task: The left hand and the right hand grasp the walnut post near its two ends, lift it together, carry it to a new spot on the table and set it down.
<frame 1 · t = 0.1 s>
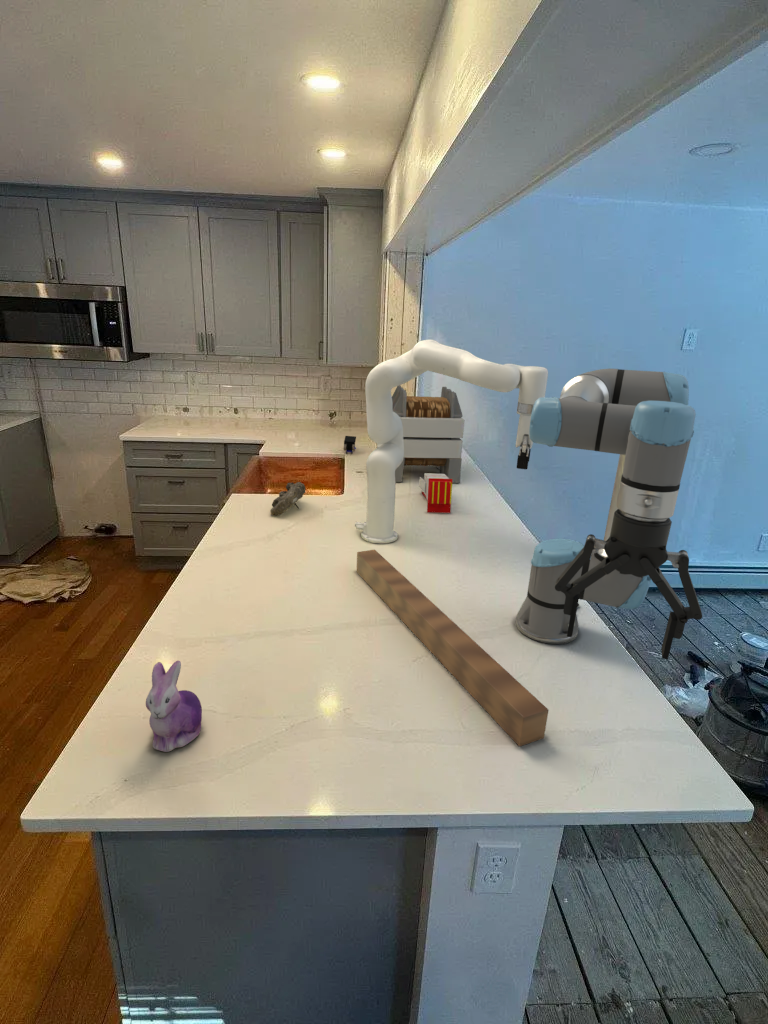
left hand: (522, 464, 174), 31 cm above the counter, tool pointing down, fingers open, 9 cm apart
right hand: (615, 643, 87), 28 cm above the counter, tool pointing down, fingers open, 13 cm apart
figurine: (177, 735, 103), on the counter
toy: (434, 502, 235), on the counter
post: (428, 636, 138), on the counter
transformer: (419, 473, 275), on the counter
figurine character: (349, 451, 309), on the counter
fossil: (289, 508, 220), on the counter
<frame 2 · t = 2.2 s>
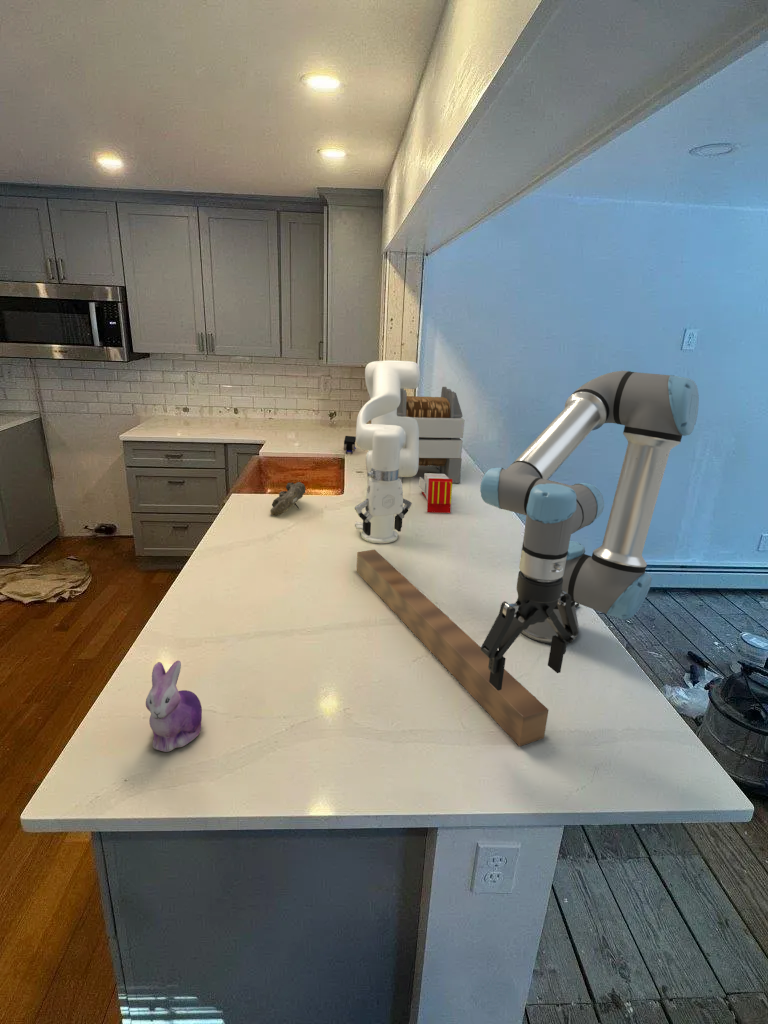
left hand: (382, 532, 163), 14 cm above the counter, tool pointing down, fingers open, 9 cm apart
right hand: (525, 677, 105), 12 cm above the counter, tool pointing down, fingers open, 13 cm apart
nothing on the counter moved.
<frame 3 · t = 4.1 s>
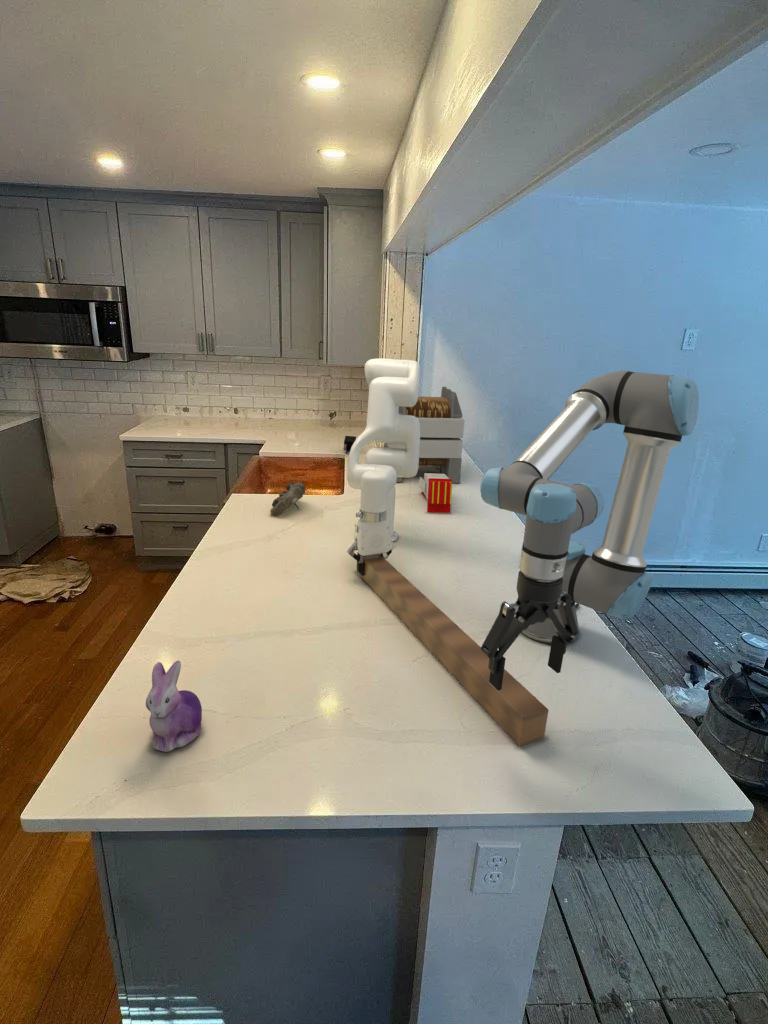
left hand: (371, 571, 167), 2 cm above the counter, tool pointing down, fingers closed on post, 5 cm apart
right hand: (525, 677, 105), 12 cm above the counter, tool pointing down, fingers open, 13 cm apart
post: (428, 636, 138), on the counter, touching left hand
everything else where it was.
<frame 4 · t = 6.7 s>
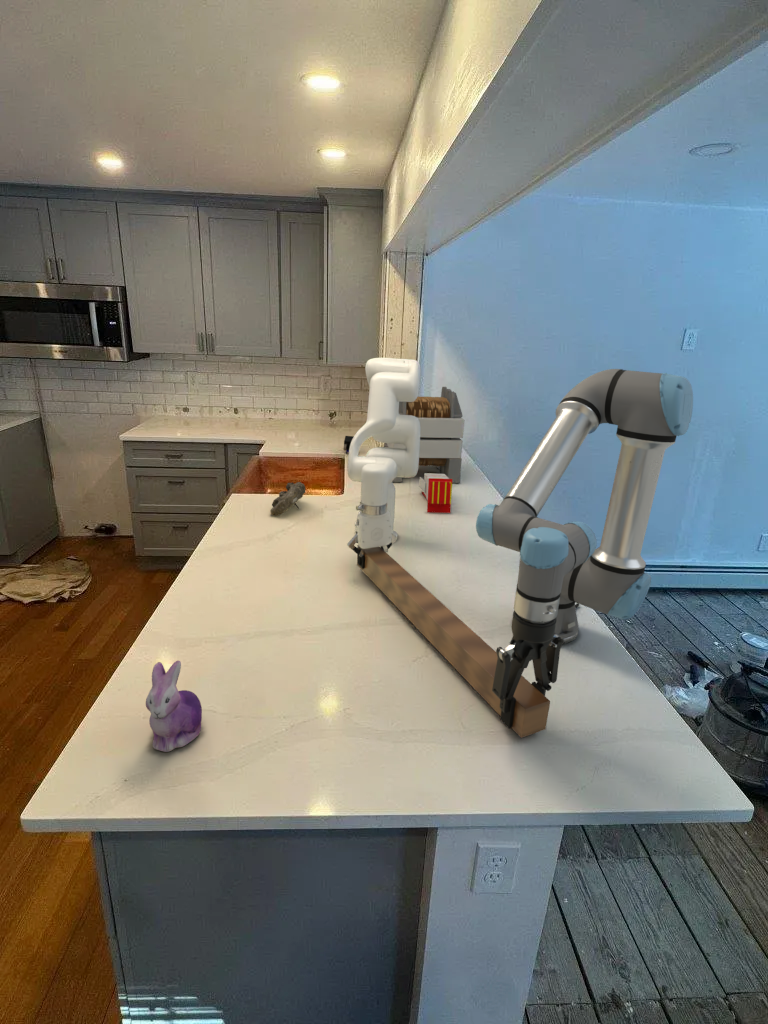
left hand: (371, 564, 167), 4 cm above the counter, tool pointing down, fingers closed on post, 5 cm apart
right hand: (520, 718, 109), 2 cm above the counter, tool pointing down, fingers closed on post, 6 cm apart
post: (429, 628, 138), point 2 cm above the counter, touching left hand, right hand
everything else where it was.
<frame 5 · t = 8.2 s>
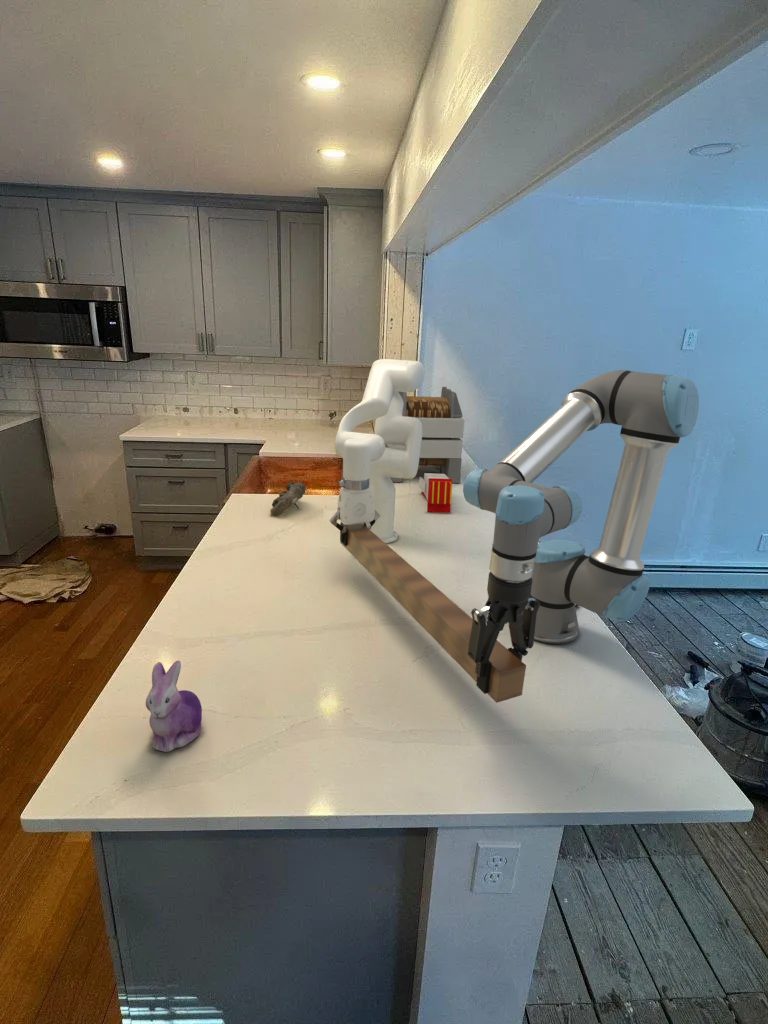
left hand: (354, 541, 165), 10 cm above the counter, tool pointing down, fingers closed on post, 5 cm apart
right hand: (496, 684, 107), 9 cm above the counter, tool pointing down, fingers closed on post, 6 cm apart
post: (410, 601, 136), point 9 cm above the counter, touching left hand, right hand
everything else where it was.
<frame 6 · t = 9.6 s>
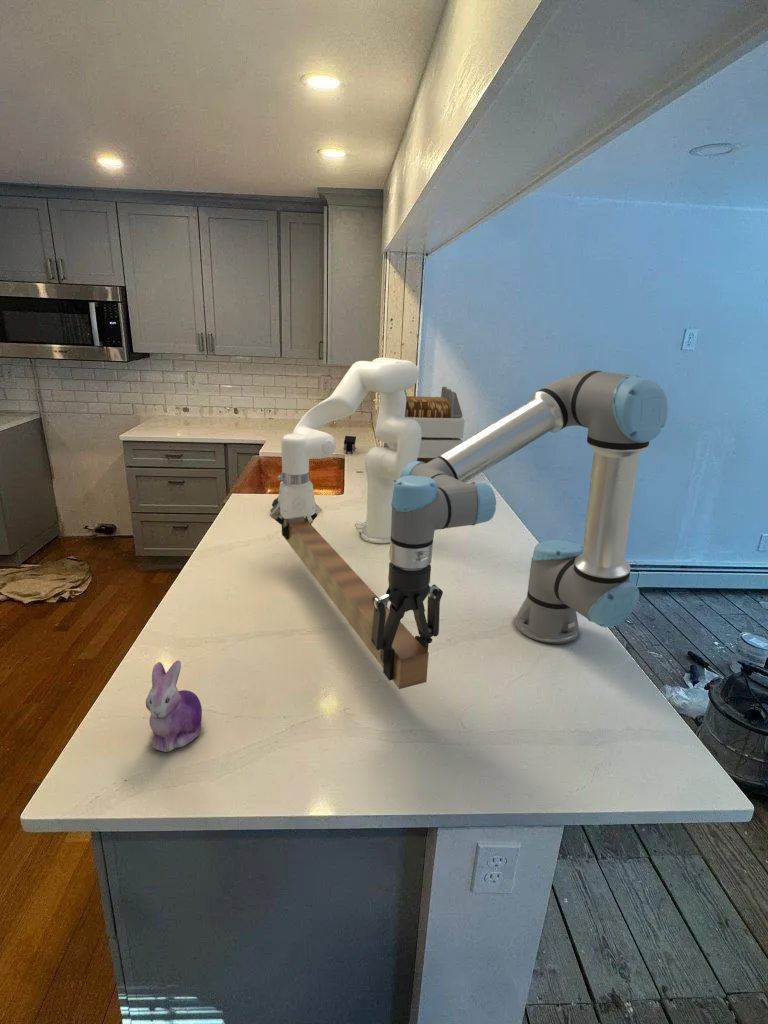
left hand: (296, 535, 167), 10 cm above the counter, tool pointing down, fingers closed on post, 5 cm apart
right hand: (403, 671, 109), 9 cm above the counter, tool pointing down, fingers closed on post, 6 cm apart
post: (338, 592, 138), point 9 cm above the counter, touching left hand, right hand
everything else where it was.
when the right hand's fingers open (1 cm above the counter, at t = 12.4 s): post stays where it is, on the counter.
when the left hand's fingers open (2 cm above the counter, at t = 12.6 s): post stays where it is, on the counter.
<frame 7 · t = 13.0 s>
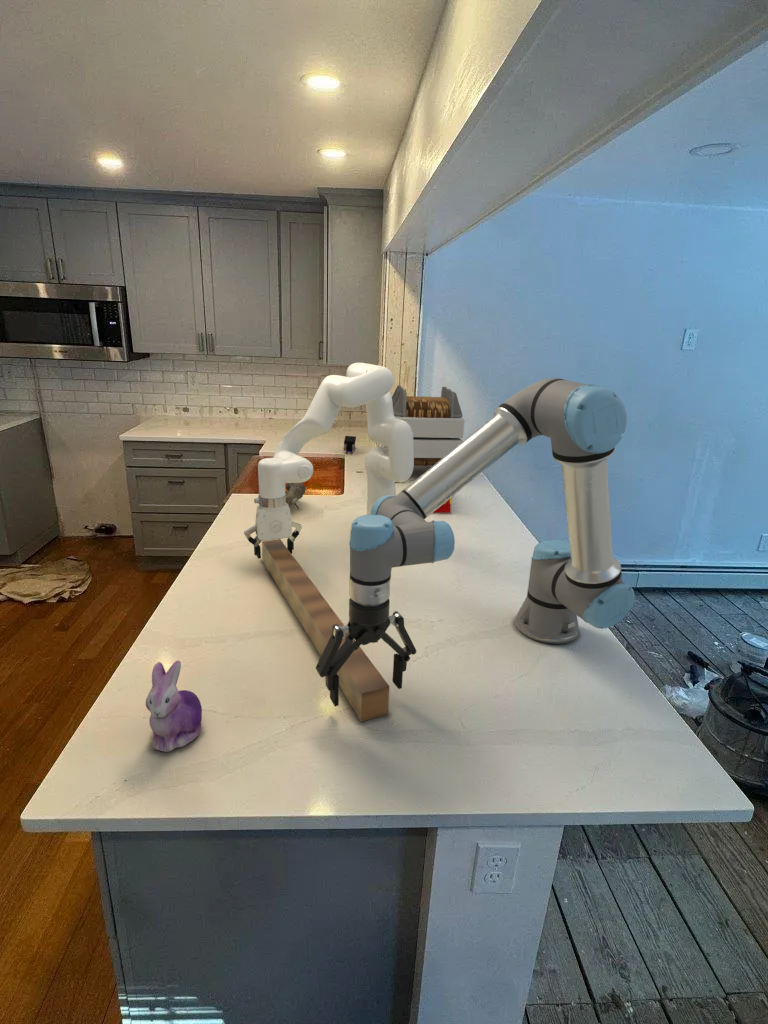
left hand: (274, 554, 170), 4 cm above the counter, tool pointing down, fingers open, 9 cm apart
right hand: (366, 693, 112), 3 cm above the counter, tool pointing down, fingers open, 13 cm apart
post: (311, 620, 143), on the counter
everything else where it was.
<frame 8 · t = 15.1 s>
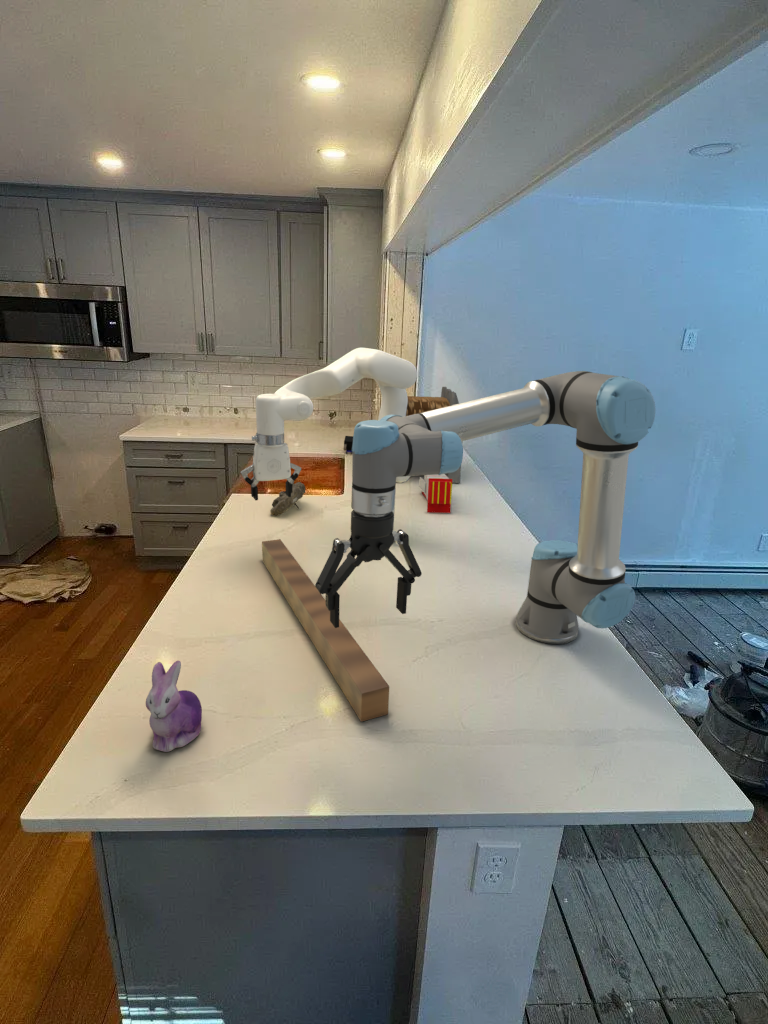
left hand: (272, 497, 164), 22 cm above the counter, tool pointing down, fingers open, 9 cm apart
right hand: (368, 617, 106), 20 cm above the counter, tool pointing down, fingers open, 13 cm apart
nothing on the counter moved.
at the end: post inside the target area (0.4 cm from its centre), on the counter; post tilted 0°; post never tilted more than 1° during the clip; both hands held the post at the same time; the left hand is holding nothing; the right hand is holding nothing; post at rest at the end (0.0 cm/s) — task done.
